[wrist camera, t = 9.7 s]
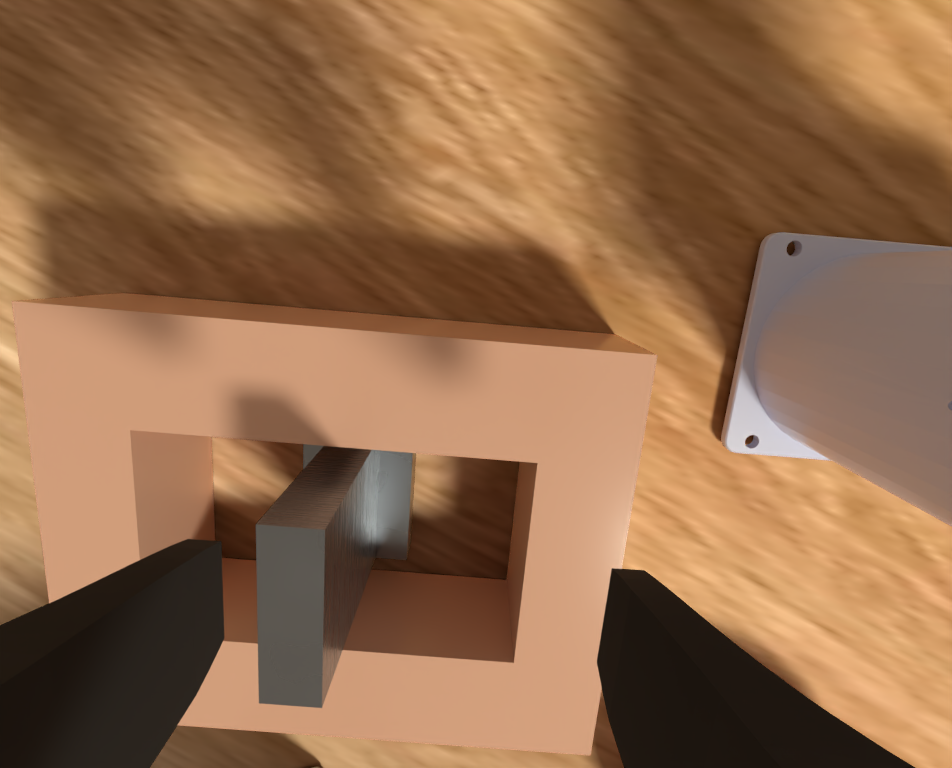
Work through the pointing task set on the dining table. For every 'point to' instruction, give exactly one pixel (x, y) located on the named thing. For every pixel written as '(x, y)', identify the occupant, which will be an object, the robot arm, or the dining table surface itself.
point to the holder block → (363, 427)
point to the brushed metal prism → (324, 562)
